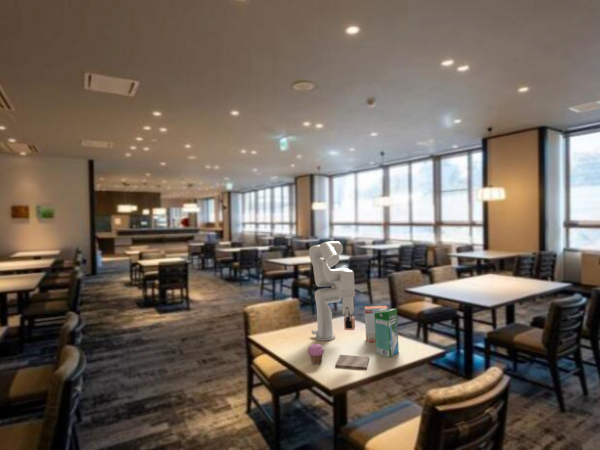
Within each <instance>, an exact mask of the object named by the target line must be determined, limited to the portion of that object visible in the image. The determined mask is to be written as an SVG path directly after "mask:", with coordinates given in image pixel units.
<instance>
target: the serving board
mask: <svg viewBox="0 0 600 450" xmlns="http://www.w3.org/2000/svg"><path fill="white" fill-rule="evenodd" d="M369 361H370V356H365V355H364V356H363V355H349V354H348V355H347V354H340V355H339V356H338V358H337V360H336V362H335V365H334V367H335V368H341V369H353V370H367V369H368V366H369Z"/></svg>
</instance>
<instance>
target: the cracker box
mask: <svg viewBox="0 0 600 450" xmlns="http://www.w3.org/2000/svg"><path fill="white" fill-rule="evenodd" d="M363 308H364V324H365V326H364V327H365V340H366V343H376V337H375V315H374V313H377V312H379V310H380V309H384V308H386V310H388V309H389V307H388V306H387V305H375V306H374V305H372V306H364V307H363Z"/></svg>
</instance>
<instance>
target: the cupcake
mask: <svg viewBox="0 0 600 450" xmlns="http://www.w3.org/2000/svg"><path fill="white" fill-rule="evenodd" d="M307 353H308V355H309V356H310V360H311V362H312V364H314V365H319V364H322V362H323V356H324V354H325V349H324V347H323V346H322V345H321V344H320V343H313V344H311V345H309V347H308V348H307Z"/></svg>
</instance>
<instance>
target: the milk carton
mask: <svg viewBox="0 0 600 450" xmlns="http://www.w3.org/2000/svg"><path fill="white" fill-rule="evenodd" d="M374 315H375V337H376V342H375V354H377V355H381V356H384V357H388V358H391V357H393V356H395V355H397V354H398V353H400V352H399V349H400V348H399V329H398V308H388V310H386V308H384V309H380V310H379V312H377V313H374Z"/></svg>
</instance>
